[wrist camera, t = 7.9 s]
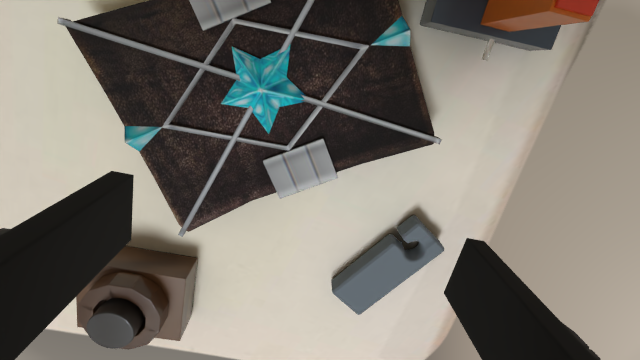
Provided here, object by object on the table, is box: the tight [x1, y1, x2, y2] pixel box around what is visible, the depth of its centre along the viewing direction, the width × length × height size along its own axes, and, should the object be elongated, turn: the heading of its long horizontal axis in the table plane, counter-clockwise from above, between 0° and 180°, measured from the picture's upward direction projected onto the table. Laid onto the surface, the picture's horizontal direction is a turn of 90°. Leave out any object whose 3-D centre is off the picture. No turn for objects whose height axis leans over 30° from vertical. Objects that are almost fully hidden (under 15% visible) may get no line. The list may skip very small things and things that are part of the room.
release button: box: [87, 298, 144, 348], centre depth 27 cm, size 4×4×2 cm
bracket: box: [332, 215, 444, 314], centre depth 31 cm, size 4×10×2 cm, turn 134°
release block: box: [76, 246, 198, 349], centre depth 30 cm, size 9×7×5 cm
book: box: [58, 0, 441, 236], centre depth 24 cm, size 22×17×5 cm
